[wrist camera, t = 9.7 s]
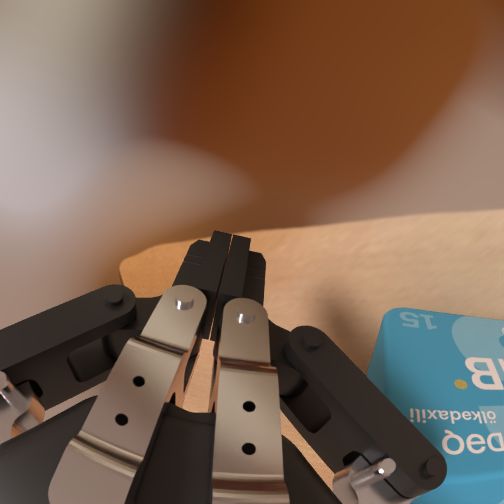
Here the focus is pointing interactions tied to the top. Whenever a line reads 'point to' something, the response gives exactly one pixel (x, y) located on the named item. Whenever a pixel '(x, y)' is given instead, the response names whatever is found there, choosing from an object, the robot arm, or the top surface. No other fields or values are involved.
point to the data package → (448, 395)
